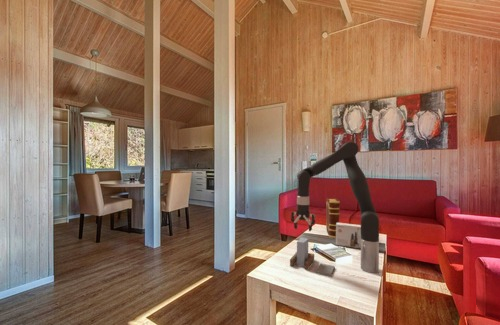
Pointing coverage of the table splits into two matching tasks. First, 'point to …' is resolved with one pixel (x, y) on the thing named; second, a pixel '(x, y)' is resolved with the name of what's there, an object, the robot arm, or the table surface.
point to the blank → (302, 251)
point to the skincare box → (348, 235)
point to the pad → (325, 269)
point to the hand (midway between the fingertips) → (302, 229)
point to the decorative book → (332, 216)
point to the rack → (307, 263)
